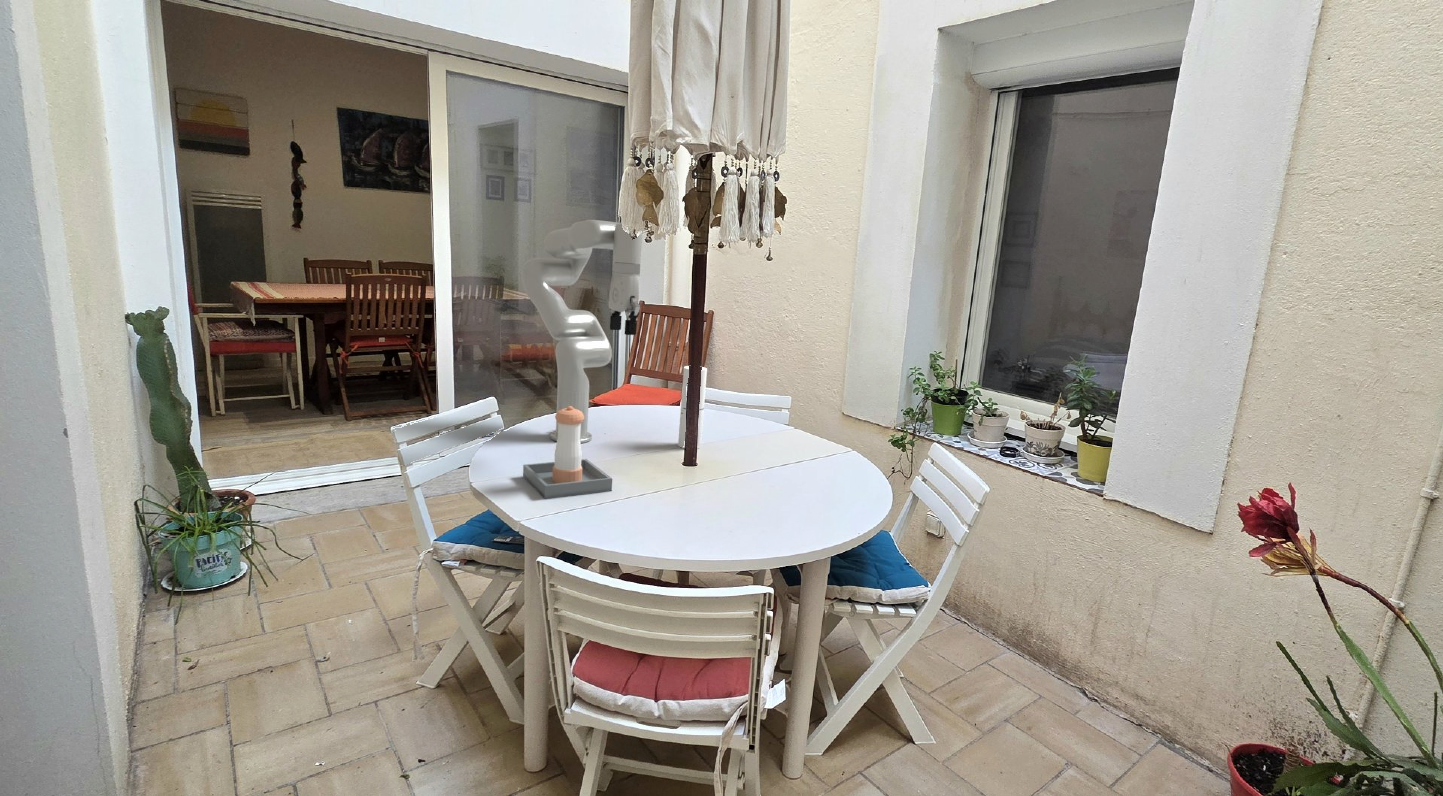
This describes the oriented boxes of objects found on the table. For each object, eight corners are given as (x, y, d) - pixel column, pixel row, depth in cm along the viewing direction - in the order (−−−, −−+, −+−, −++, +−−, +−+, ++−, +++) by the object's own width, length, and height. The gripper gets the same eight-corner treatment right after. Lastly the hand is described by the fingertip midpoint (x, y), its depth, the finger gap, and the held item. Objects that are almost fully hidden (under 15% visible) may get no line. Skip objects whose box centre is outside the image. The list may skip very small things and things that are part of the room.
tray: (523, 476, 179) (523, 464, 178) (585, 470, 188) (586, 458, 187) (545, 498, 165) (545, 485, 164) (611, 490, 174) (612, 478, 174)
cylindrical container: (690, 450, 215) (697, 370, 210) (673, 445, 219) (679, 367, 214) (705, 447, 220) (711, 369, 215) (687, 441, 225) (694, 365, 220)
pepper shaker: (577, 474, 181) (580, 402, 178) (585, 483, 175) (588, 409, 171) (549, 476, 178) (552, 403, 174) (555, 485, 172) (558, 410, 168)
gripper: (600, 267, 196) (597, 327, 199) (627, 271, 182) (623, 336, 185) (625, 268, 200) (621, 328, 204) (652, 273, 186) (648, 336, 189)
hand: (622, 332), depth 194 cm, fingers open, 9 cm apart
